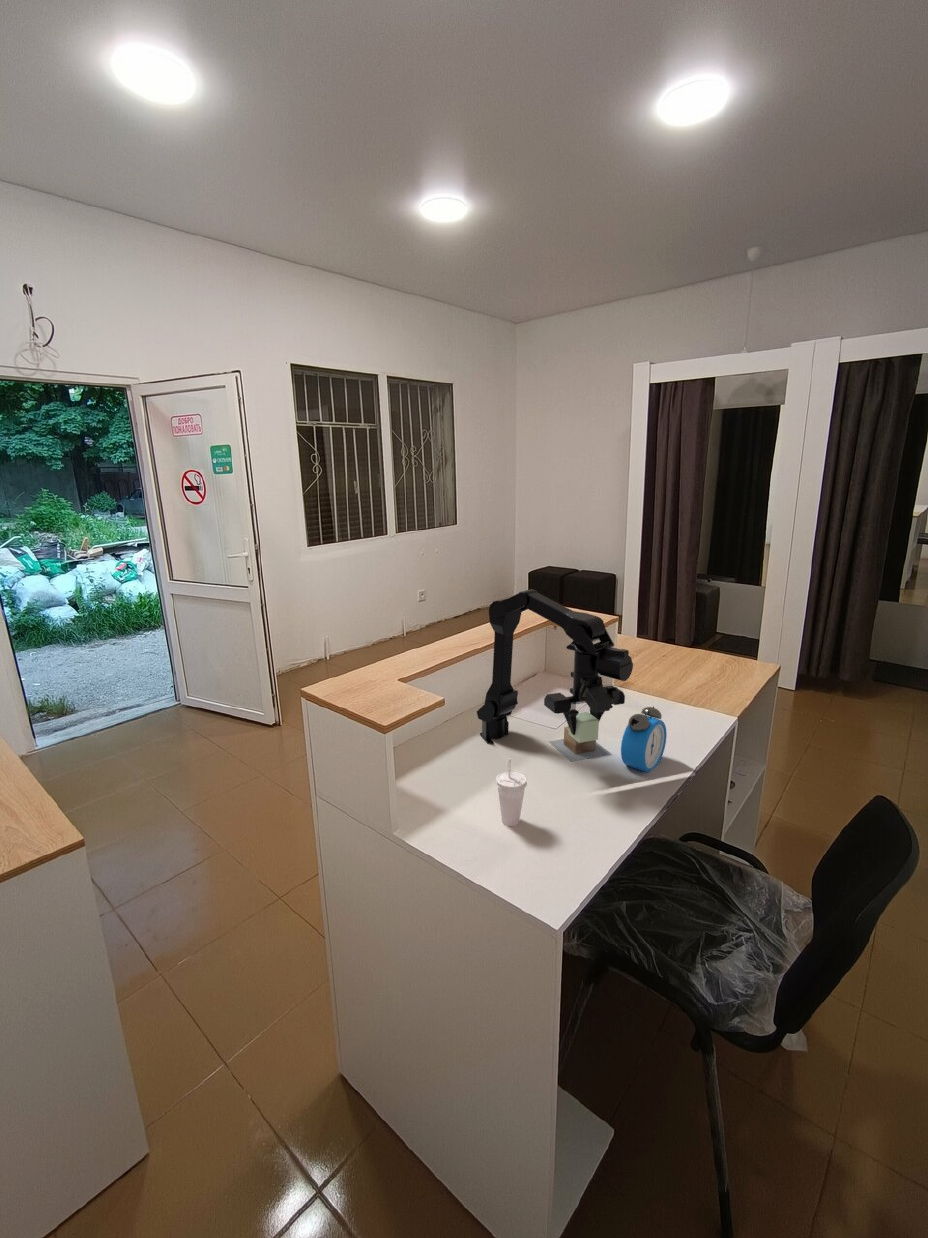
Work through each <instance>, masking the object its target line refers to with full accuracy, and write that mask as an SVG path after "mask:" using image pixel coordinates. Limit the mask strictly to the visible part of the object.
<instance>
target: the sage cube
mask: <svg viewBox="0 0 928 1238" xmlns="http://www.w3.org/2000/svg"><path fill="white" fill-rule="evenodd" d="M599 726H600V721H599V720H598V719H597V718H595V717H594V716H592V715H591V714H590V712H589V711H586V712H579V713H578V714H577V716H576V732H575V735H573V734H572V733H571V731H570V728H569V735H570V736H571V737H573V738H574V739H575V740H576V741H578V742H579V743H582V742H587V741H593V740H596V741H598V740H599V729H600V727H599Z"/></svg>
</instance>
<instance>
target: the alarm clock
mask: <svg viewBox="0 0 928 1238" xmlns="http://www.w3.org/2000/svg"><path fill="white" fill-rule="evenodd" d="M662 717H663V716H662V713H661V711H660V710H659V709H658V708H656V707H655V706H646V707H643V709H642V710H641V712H640V713H636V714H633V715H632V716H630V717H629V719H628V722H627V723H628V724H627V725H626V727H625V730H624V732H623V735H622V740H621V745H620V756H621V760H622V763H623V764H624V765H625V766H628V767H630V768H633V769H637V770H639V771H641V772H644V773H649V772H651V771H652V770H654V769H655V768H656V767H657V766H658V765H659V764H660V762H661V760H662V757H663V755H664V752H665V750H666V749H665V748H666V744H667V727H666V724H665V722H664V721H663V720H662Z"/></svg>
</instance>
